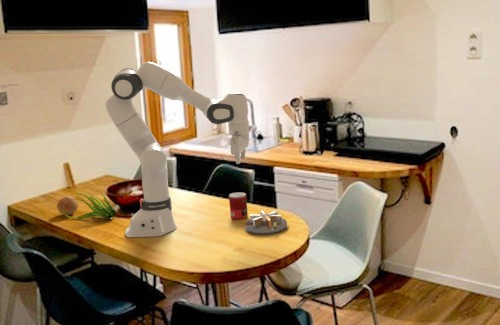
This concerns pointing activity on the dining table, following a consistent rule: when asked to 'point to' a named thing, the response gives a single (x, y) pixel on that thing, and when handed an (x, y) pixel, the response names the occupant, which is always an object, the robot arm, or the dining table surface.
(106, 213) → the decorative plant
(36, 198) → the dining table surface
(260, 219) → the finned rotor disc
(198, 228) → the dining table surface
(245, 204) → the canned food
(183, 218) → the dining table surface
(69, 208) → the onion
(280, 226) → the disc
